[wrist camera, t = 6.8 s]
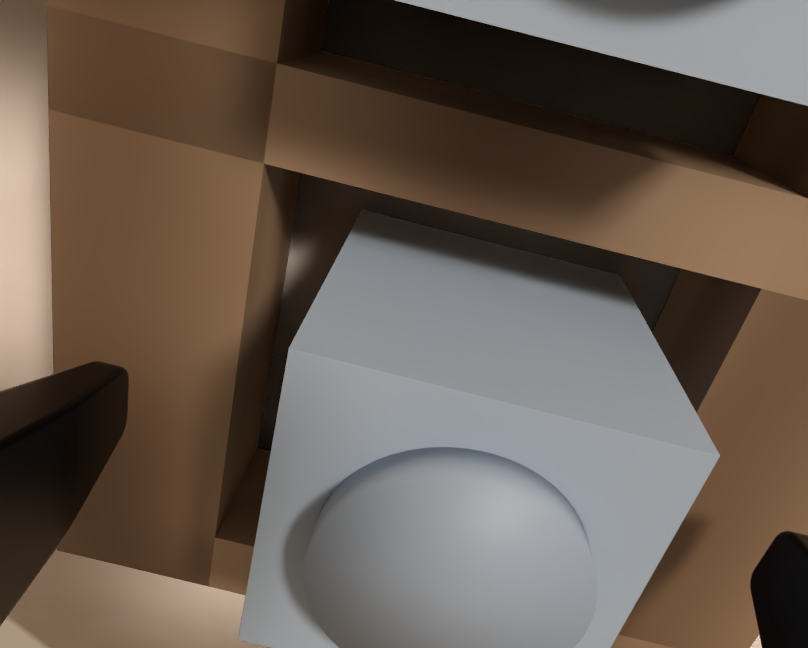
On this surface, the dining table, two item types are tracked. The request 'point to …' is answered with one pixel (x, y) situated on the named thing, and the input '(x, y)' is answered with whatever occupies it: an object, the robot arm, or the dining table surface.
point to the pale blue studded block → (669, 35)
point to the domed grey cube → (468, 453)
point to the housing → (417, 181)
